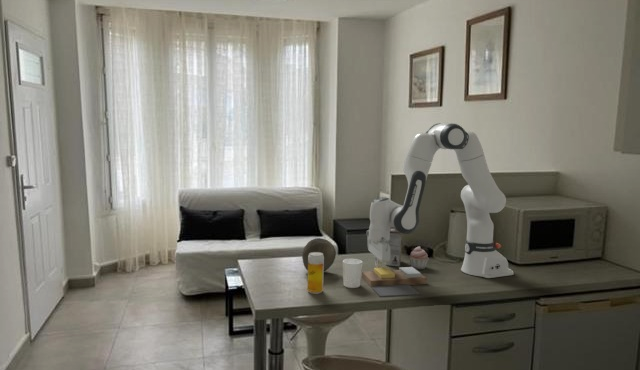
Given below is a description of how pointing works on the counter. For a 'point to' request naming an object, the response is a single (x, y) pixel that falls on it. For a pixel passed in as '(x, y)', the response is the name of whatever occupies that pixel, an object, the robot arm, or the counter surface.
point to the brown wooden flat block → (392, 279)
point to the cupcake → (418, 258)
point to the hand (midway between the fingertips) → (378, 266)
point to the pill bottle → (315, 272)
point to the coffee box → (395, 247)
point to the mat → (394, 290)
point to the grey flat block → (409, 272)
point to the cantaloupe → (321, 247)
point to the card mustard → (384, 272)
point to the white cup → (352, 272)
